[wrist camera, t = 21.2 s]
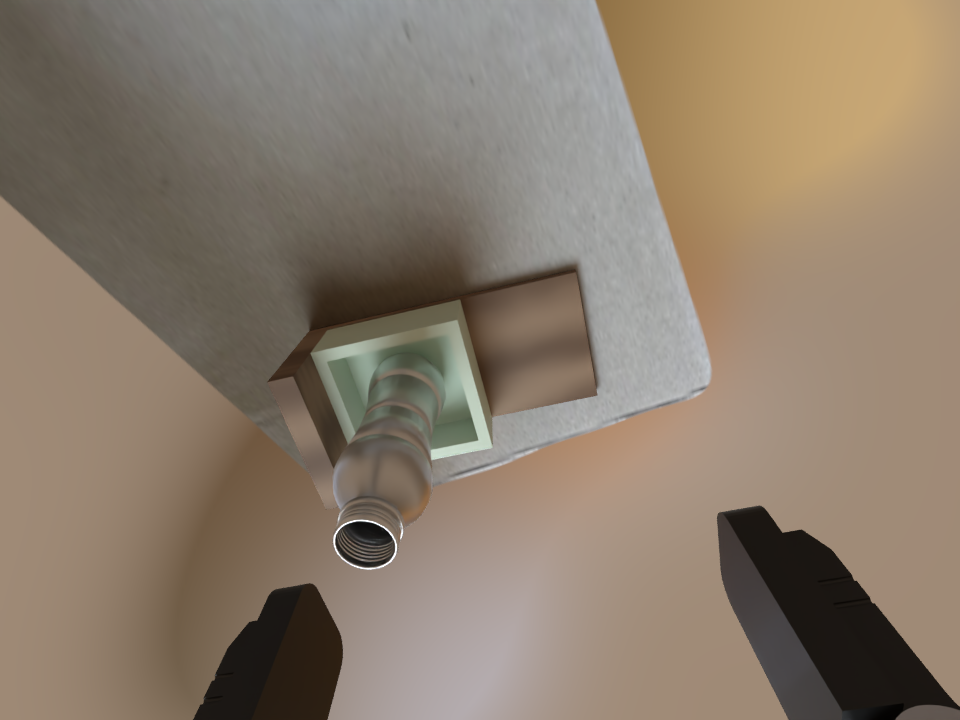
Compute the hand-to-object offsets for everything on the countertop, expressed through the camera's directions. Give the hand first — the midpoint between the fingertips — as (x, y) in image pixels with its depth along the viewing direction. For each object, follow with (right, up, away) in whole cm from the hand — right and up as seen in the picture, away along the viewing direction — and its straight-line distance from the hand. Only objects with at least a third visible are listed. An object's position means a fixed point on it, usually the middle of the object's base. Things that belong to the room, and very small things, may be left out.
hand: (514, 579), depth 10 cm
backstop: (-3, +4, +38) cm, 38 cm away
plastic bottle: (-7, +3, +37) cm, 37 cm away
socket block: (-7, +3, +37) cm, 38 cm away
